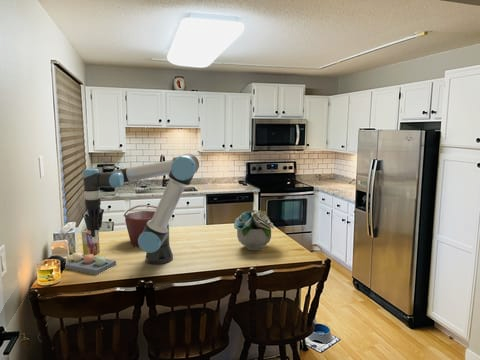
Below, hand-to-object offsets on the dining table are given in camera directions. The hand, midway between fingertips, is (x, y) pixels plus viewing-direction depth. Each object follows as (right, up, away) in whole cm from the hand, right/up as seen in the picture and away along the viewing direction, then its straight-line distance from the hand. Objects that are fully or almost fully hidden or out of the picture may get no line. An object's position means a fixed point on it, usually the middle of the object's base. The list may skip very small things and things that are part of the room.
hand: (95, 242), depth 186 cm
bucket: (+15, -8, +42) cm, 45 cm away
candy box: (-11, -11, +21) cm, 27 cm away
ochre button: (-12, -11, +7) cm, 18 cm away
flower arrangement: (+85, -10, +32) cm, 92 cm away
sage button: (+3, -12, +1) cm, 13 cm away
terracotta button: (-5, -12, +4) cm, 13 cm away
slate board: (-5, -14, +4) cm, 15 cm away
